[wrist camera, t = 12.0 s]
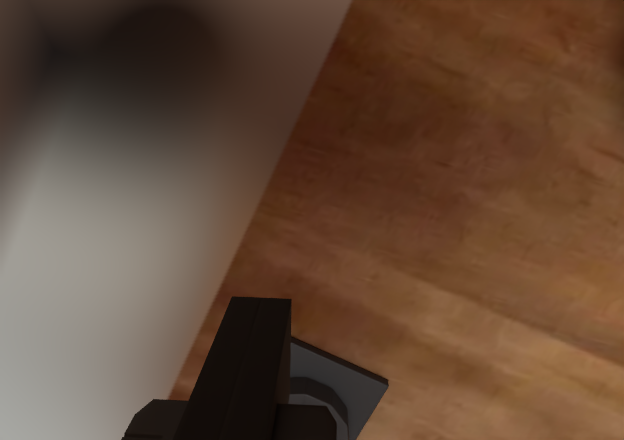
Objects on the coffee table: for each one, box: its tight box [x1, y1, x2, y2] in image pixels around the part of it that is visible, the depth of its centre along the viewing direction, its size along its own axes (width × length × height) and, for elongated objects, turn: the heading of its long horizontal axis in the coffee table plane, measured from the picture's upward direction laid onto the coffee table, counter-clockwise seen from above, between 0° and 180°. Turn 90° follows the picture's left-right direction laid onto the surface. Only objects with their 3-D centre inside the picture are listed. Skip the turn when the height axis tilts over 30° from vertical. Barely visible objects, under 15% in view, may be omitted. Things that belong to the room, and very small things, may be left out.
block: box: [289, 337, 389, 440], centre depth 36 cm, size 10×8×2 cm
